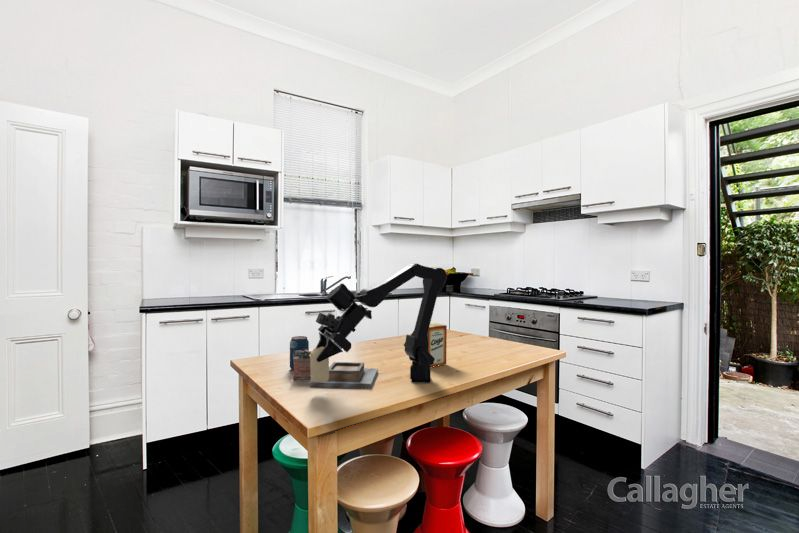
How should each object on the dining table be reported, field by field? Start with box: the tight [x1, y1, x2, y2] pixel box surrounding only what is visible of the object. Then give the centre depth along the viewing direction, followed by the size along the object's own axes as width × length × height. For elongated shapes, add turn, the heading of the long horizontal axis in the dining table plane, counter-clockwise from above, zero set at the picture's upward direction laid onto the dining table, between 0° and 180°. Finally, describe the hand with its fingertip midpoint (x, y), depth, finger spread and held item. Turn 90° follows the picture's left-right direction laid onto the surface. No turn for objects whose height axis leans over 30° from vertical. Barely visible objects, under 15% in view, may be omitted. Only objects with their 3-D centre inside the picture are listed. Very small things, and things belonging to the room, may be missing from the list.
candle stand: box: [309, 361, 379, 389], centre depth 137 cm, size 20×18×4 cm
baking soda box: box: [428, 322, 448, 368], centre depth 157 cm, size 10×6×16 cm
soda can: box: [289, 335, 310, 372], centre depth 149 cm, size 7×7×12 cm
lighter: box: [292, 350, 312, 381], centre depth 137 cm, size 8×3×10 cm, turn 92°
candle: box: [310, 347, 330, 383], centre depth 121 cm, size 6×6×10 cm
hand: (315, 358), depth 121 cm, fingers closed on candle, 5 cm apart
